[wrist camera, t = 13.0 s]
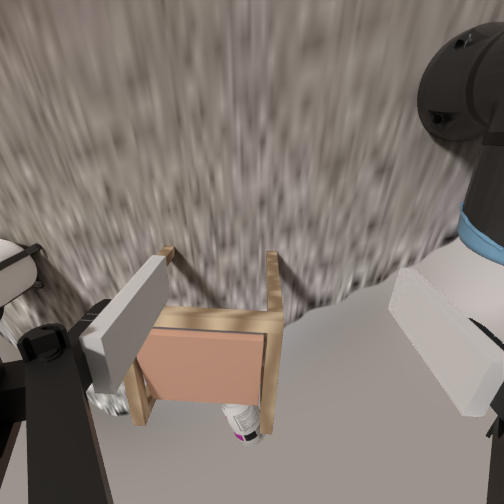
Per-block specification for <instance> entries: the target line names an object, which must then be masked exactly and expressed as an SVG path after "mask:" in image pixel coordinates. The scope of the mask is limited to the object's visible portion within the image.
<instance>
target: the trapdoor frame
mask: <svg viewBox="0 0 504 504" xmlns="http://www.w3.org/2000/svg"><path fill="white" fill-rule="evenodd" d="M157 255H160V256H166V264H167V266H168V265H169V263H170V262H171V260H172V259H173V257H174V256H175V249H174V246H164V247H163V248H162V250H161V251H160V252H159V253H158V254H157ZM266 269H267V311H252V310H233V309H215V308H197V307H179V306H164V308H163V310H162V312H161V314H160V315H159V317H158V319H157V321H156V322H155V324H154V326H153V327H170V328H187V329H205V330H222V331H240V332H257V333H264V342H263V353H262V365H261V386H260V387H261V388H260V391H261V392H260V434H272V429H273V420H274V411H275V401H276V391H277V383H278V373H279V364H280V355H281V346H282V336H283V327H284V316H283V306H282V297H281V287H280V278H279V268H278V259H277V252H273V251H267V258H266ZM123 381H124V385H125V390H126V394H127V399H128V403H129V408H130V412H131V416H132V421H133V425H138V426H146V423H147V421H148V418H149V416H150V413H151V411H152V408H153V406H154V403H155V401H156V399H153V397H152V395H151V392H150V390H149V387H148V385H146V387H145V384H144V378H143V373H142V370H141V367H140V365H139V362H138V360H137V357H136V358H135V360H134V361H133V363H132V365H131V367H130V368H129V370H128V372H127V374H126V375H125V377H124V379H123Z"/></svg>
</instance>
